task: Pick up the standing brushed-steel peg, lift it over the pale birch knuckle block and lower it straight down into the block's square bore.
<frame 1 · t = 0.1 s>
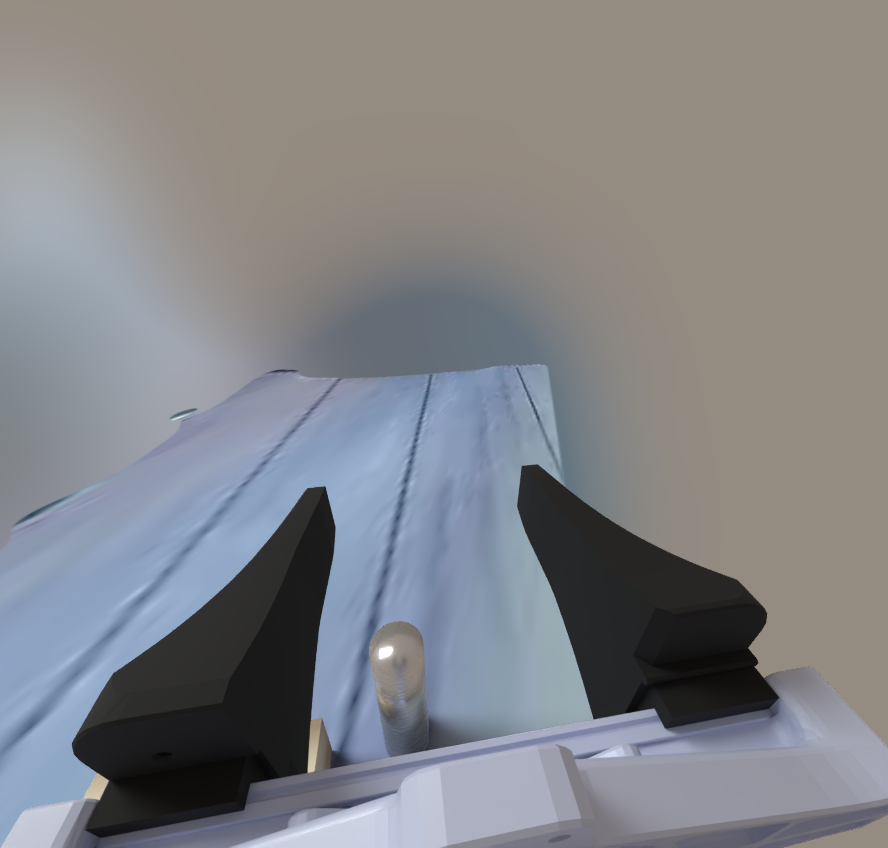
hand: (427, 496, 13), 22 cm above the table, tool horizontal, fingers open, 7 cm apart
peg: (407, 736, 24), on the table
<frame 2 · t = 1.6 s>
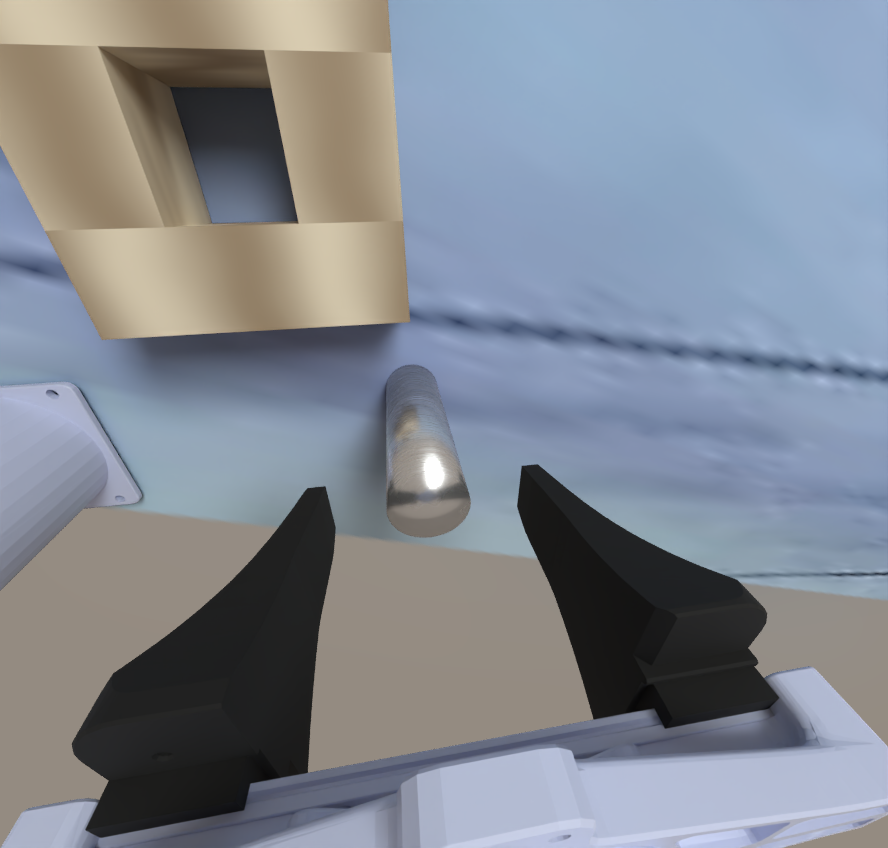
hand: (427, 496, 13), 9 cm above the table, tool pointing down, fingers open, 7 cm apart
knuckle block: (250, 160, 15), on the table
peg: (411, 388, 21), on the table
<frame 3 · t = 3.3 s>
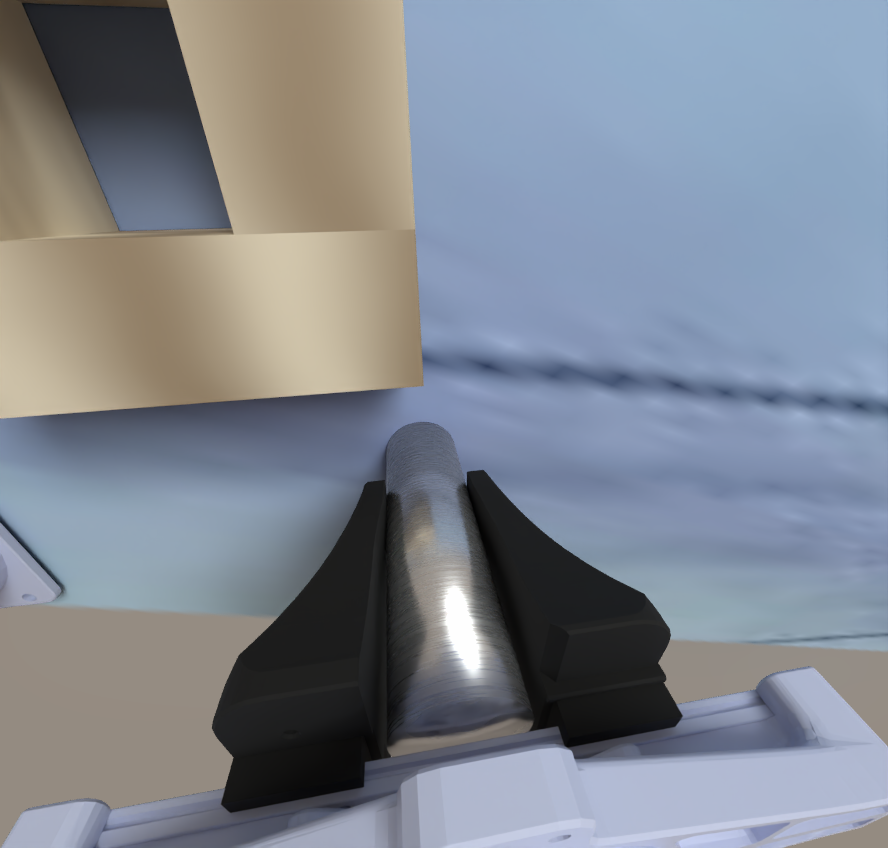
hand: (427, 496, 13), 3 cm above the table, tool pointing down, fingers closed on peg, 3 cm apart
knuckle block: (171, 131, 9), on the table
peg: (420, 451, 16), on the table, touching gripper
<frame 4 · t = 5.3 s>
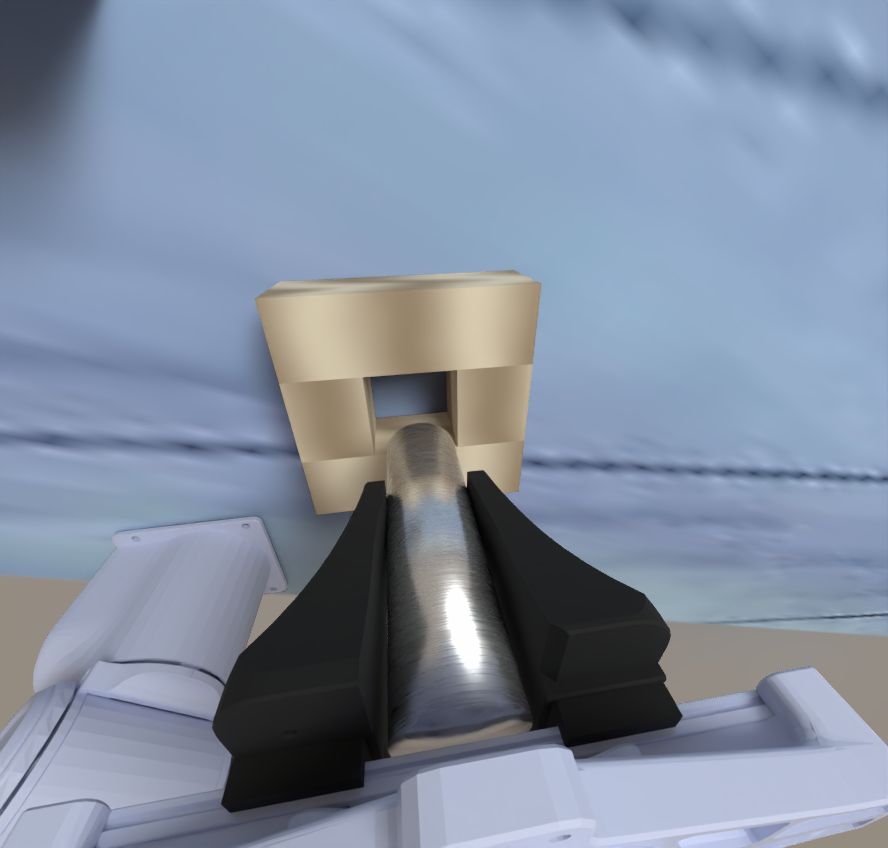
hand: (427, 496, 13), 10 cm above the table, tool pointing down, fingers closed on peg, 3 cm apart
knuckle block: (409, 382, 22), on the table
peg: (421, 451, 16), point 7 cm above the table, touching gripper
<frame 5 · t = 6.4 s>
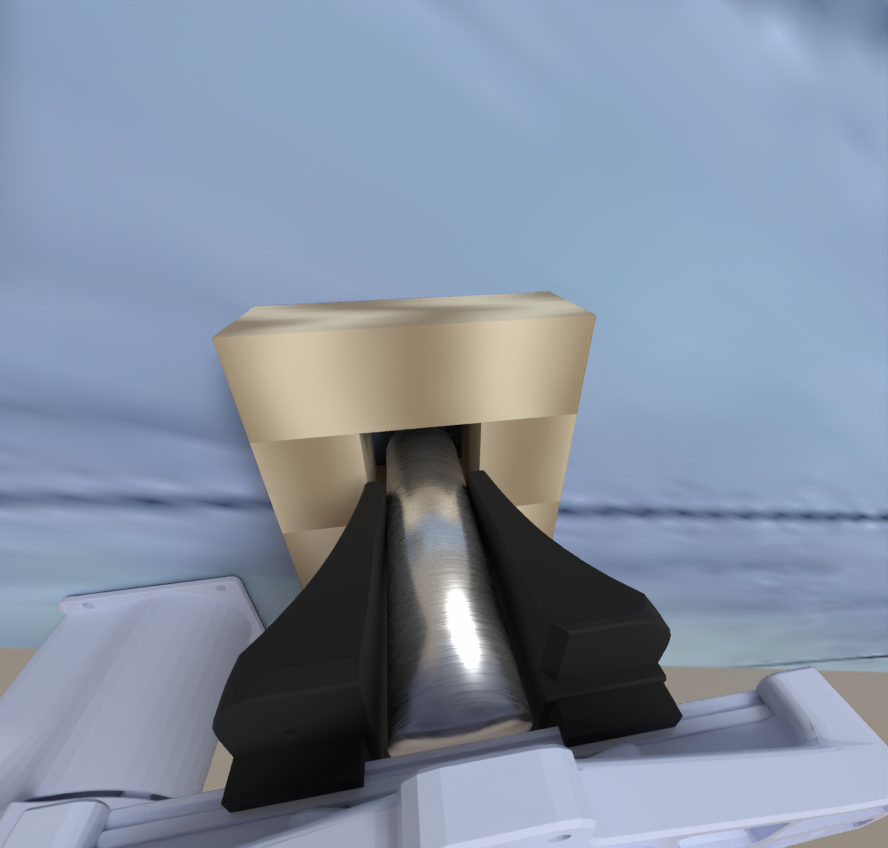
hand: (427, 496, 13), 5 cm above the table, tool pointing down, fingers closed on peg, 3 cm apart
knuckle block: (416, 424, 18), on the table
peg: (420, 451, 16), point 2 cm above the table, touching gripper
when the fingers open (5 cm above the table, at t = 7.2 s): peg drops 2 cm, resting in knuckle block.
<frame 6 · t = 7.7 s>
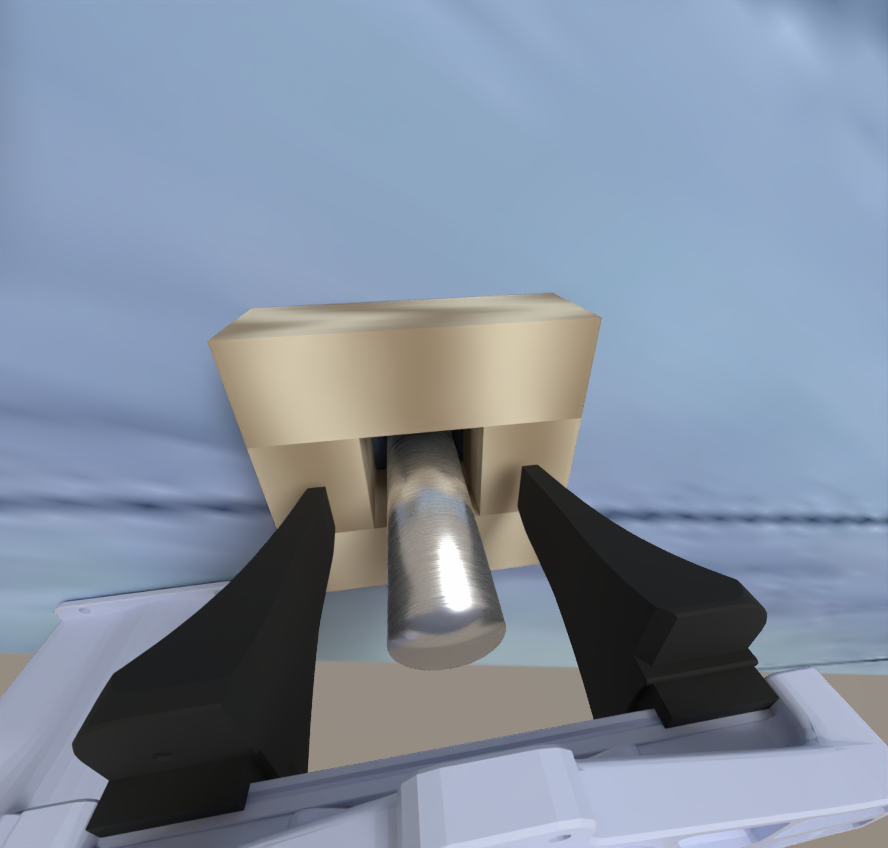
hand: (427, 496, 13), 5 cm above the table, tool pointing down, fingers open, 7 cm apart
knuckle block: (417, 428, 17), on the table
peg: (418, 428, 17), resting in knuckle block
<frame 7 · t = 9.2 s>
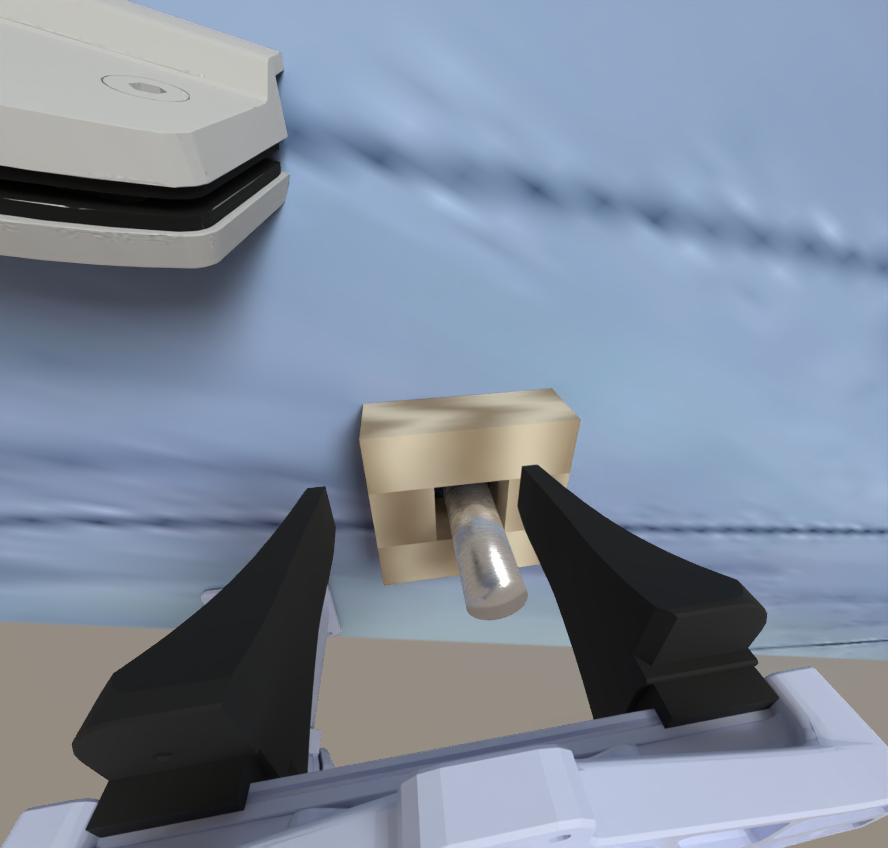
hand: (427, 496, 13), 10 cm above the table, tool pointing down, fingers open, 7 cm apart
knuckle block: (460, 471, 26), on the table
peg: (460, 471, 26), resting in knuckle block
grey stapler: (68, 115, 14), on the table
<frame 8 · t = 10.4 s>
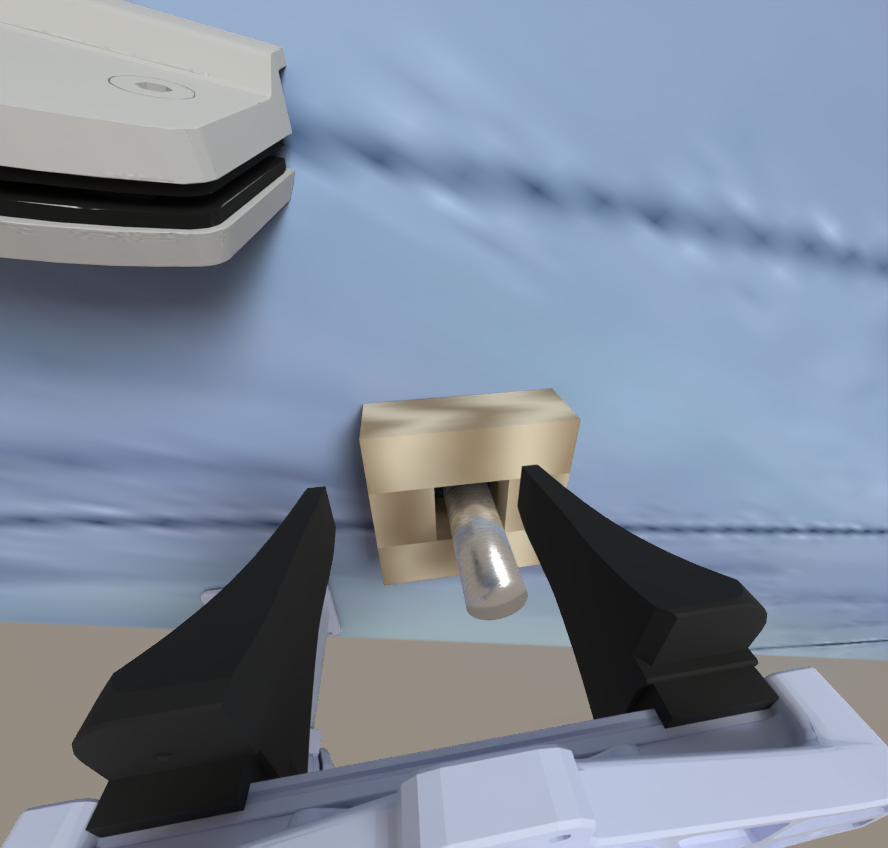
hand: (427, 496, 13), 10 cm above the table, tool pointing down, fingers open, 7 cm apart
knuckle block: (460, 471, 26), on the table
peg: (460, 471, 26), resting in knuckle block
grey stapler: (75, 121, 14), on the table
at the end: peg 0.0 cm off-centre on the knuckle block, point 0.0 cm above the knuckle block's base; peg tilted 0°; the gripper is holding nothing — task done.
